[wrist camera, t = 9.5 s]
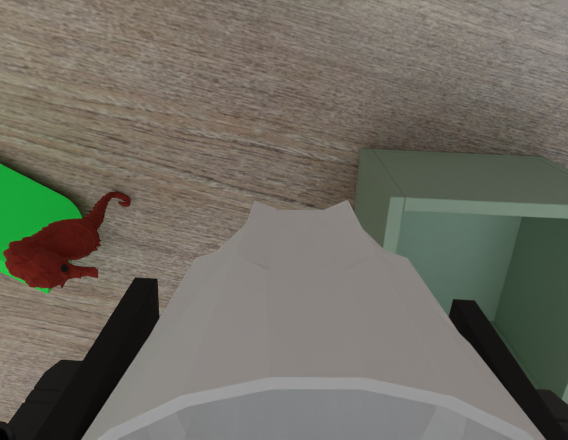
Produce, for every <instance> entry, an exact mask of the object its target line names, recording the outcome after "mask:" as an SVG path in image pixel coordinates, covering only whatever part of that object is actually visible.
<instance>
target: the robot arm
mask: <svg viewBox="0 0 568 440" xmlns="http://www.w3.org/2000/svg"><path fill="white" fill-rule="evenodd" d="M449 319H450V320H451V321H452V323H453V324H454V326H455V328H456V329H457V331H458V332H459V333H460V334H461V335H462V336H463V337H464V338H465V339H466V340H467V341H468V342H469V343H470V344H471V346H472V347H473V348H474V349H475V351H476V352H477V353H478V354H479V356H480V357H481V358H482V359H483V361H484V362H485V363H486V365H487V366H488V367H489V368H490V370H491V371H492V372H493V373H494V375H495V376H496V377H497V378H498V380H499V381H500V382H501V384H502V385H503V386H504V387H505V389H506V390H507V391H508V392H509V394H510V395H511V396H512V397H513V399H514V400H515V401H516V402H517V404H518V405H519V406H520V408H521V409H522V410H523V411H524V413H525V414H526V415H527V416H528V418H529V419H530V420H531V421H532V423H533V424H534V425H535V427H536V428H537V429H538V430H539V432H540V433H541V434H542V435H543V437H544V438H545V439H546V440H568V404H567V403H565V402H564V401H563V400H562V399H561V398H559V397H558V396H557V395H556V394H555V393H553V392H552V391H551V390H544V389H535V388H534V386H533V385H532V383H531V382H530V380H529V379H528V377H527V376H526V374H525V373H524V371H523V370H522V369H521V367H520V366H519V364H518V363H517V361H516V360H515V358H514V357H513V355H512V354H511V352H510V351H509V350H508V348H507V347H506V345H505V344H504V342H503V341H502V339H501V338H500V336H499V335H498V333H497V332H496V330H495V329H494V328H493V326H492V325H491V323H490V322H489V320H488V319H487V317H486V316H485V314H484V313H483V311H482V310H481V309H480V307H479V306H478V304H477V303H476V301H475V300H462V299H453V301H452V305H451V309H450V313H449ZM158 320H159V302H158V280H157V279H150V278H134V280H133V282H132V283H131V285H130V286H129V288H128V290H127V291H126V293H125V294H124V296H123V298H122V299H121V301H120V302H119V304H118V306H117V307H116V309H115V310H114V312H113V314H112V315H111V317H110V318H109V320H108V322H107V323H106V325H105V326H104V328H103V329H102V331H101V333H100V334H99V336H98V337H97V339H96V341H95V342H94V344H93V345H92V347H91V349H90V350H89V352H88V353H87V355H86V357H85V358H84V360H83V361H74V360H61V361H59V362H58V363H57V364H55V365H54V366H53V367H51V368H50V369H49V370H47V371H46V372H45V373H44V374H43V376H42V377H41V378H40V380H39V381H38V383H37V384H36V385H35V387H34V390H32V391H31V392H30V394H29V395H28V397H27V398H26V399H25V403H23V404H22V405H21V406H20V408H19V409H18V411H17V412H16V413H15V415H14V416H13V418H12V419H11V420H10V422H9V423H8V424H7V423H5V422H1V421H0V440H81V439H82V438H83V436H84V435H85V433H86V432H87V430H88V429H89V427H90V426H91V424H92V423H93V421H94V420H95V418H96V416H97V415H98V413H99V412H100V410H101V409H102V407H103V406H104V404H105V403H106V401H107V400H108V398H109V397H110V395H111V394H112V392H113V391H114V389H115V388H116V386H117V384H118V383H119V381H120V380H121V378H122V377H123V375H124V374H125V372H126V371H127V369H128V368H129V366H130V365H131V363H132V362H133V360H134V359H135V357H136V356H137V354H138V352H139V351H140V349H141V348H142V346H143V345H144V343H145V342H146V340H147V339H148V337H149V336H150V334H151V332H152V331H153V329H154V327H155V325H156V323H157V322H158Z"/></svg>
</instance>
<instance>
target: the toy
mask: <svg viewBox="0 0 568 440" xmlns="http://www.w3.org/2000/svg"><path fill="white" fill-rule="evenodd" d="M111 198H119V199H122V200H123V201H125V202H118V203H119V204H120V205H122V206H125V207H128V206H129V205H130V203H131V201H130V199H129V197H128V196H126V195H124V194H122V193H119V192H109V193H107V194H106V195H105V196H103V197H102V198H101V199H100V200H99V201H98V202H97V203H96V204H95V206H94V207H93V210H91V211H89V212H90V214H87V217H82V219H81V218H79V219H75V218H74V219H65V220H60V221H55V222H53V223H50V224H48V226H46V227H43V228H42V230H40V231H38V232H37V233H35V234H34V235H32V236H28V237H24V238H22V240H19V241H13V242H10V243H9V245H8V246H9V248H8V249H6V250H4V252H3V255H4V256H5V258H6V260H7V261H6V262H5V265H6V268H7V269H8V270H9V273H10V274H11V275H12V276H14V277H17V278H19V279H22V280H24V281H25V282H26V284H28V285H29V287H33V288H34V287H36V288H41V289H43V288H48V289H51V288H53V287H55V286H58V285H61V288H62V287H63V286H64V284H65V282H66V281H67V280H68V279H72V278H77V277H78V278H80V279H81V277H83V276H91V277H96V278H98V270H97V269H96V268H95V267H81V266H75V265H73V264H71V263H69V261H68V260H77V259H81V258H83V257H85V256H88V255H90V253H91V252H92V251H96V250H98V249H97V248H96V247H98V246H101V245H100V244H99V242H100V241H101V240H100V239H99V234H98V232H97V229H98V228H99V227H100V225H101V224H102V222H103V219H104V216H105V215H104V213H105V209H106V207H107V205H108V202H109V201H110V199H111Z"/></svg>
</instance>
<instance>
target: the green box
mask: <svg viewBox="0 0 568 440" xmlns="http://www.w3.org/2000/svg"><path fill="white" fill-rule="evenodd" d="M354 213H355V215H356V217H357V219H358V221H359V223H360V225H361V227H362V229H363V230H364V231H365V232H366V233H367V234H368V235H370V236H371V237H372V238H373V239H374V240H375V241H376V242H377V243H378V244H379V245H380V246H381V247H382V248H383V249H384V250H385V251H388V252H391V253H394V254H397V255H400V256H403V257H406V258H408V260H409V261H410V262H411V264H412V265H413V267H414V268H415V270H416V271H417V273H418V274H419V275H420V277H421V278H422V280H423V281H424V283H425V284H426V285H427V287H428V288H429V290H430V291H431V293H432V294H433V296H434V297H435V298H436V300H437V301H438V303H439V304H440V306H441V307H442V309H443V310H444V311H445V313H446V314H447V316H448V317H449V313H450V309H451V305H452V301H453V299H462V300H475V301H476V303H477V304H478V306H479V307H480V309H481V310H482V311H483V313H484V314H485V316H486V317H487V319H488V320H489V322H490V323H491V325H492V326H493V328H494V329H495V330H496V332H497V333H498V335H499V336H500V338H501V339H502V341H503V342H504V344H505V345H506V347H507V348H508V350H509V351H510V352H511V354H512V355H513V357H514V358H515V360H516V361H517V363H518V364H519V366H520V367H521V369H522V370H523V371H524V373H525V374H526V376H527V377H528V379H529V380H530V382H531V383H532V385H533V386H534V388H535V389H544V390H551V391H552V392H553V393H555V394H556V395H557V396H558V397H559V398H561V399H562V400H563V401H564V402H565V403H567V404H568V169H567V168H565V167H563V166H561V165H559V164H557V163H555V162H553V161H551V160H548V159H547V158H545V157H538V156H517V155H496V154H475V153H454V152H432V151H411V150H390V149H369V148H361V150H360V159H359V168H358V177H357V186H356V194H355V203H354Z"/></svg>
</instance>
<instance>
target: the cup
mask: <svg viewBox="0 0 568 440" xmlns="http://www.w3.org/2000/svg"><path fill="white" fill-rule="evenodd" d="M81 440H546V439H545V438H544V437H543V435H542V434H541V433H540V432H539V430H538V429H537V428H536V427H535V425H534V424H533V423H532V421H531V420H530V419H529V418H528V416H527V415H526V414H525V413H524V411H523V410H522V409H521V408H520V406H519V405H518V404H517V402H516V401H515V400H514V399H513V397H512V396H511V395H510V394H509V392H508V391H507V390H506V389H505V387H504V386H503V385H502V384H501V382H500V381H499V380H498V378H497V377H496V376H495V375H494V373H493V372H492V371H491V370H490V368H489V367H488V366H487V365H486V363H485V362H484V361H483V359H482V358H481V357H480V356H479V354H478V353H477V352H476V351H475V349H474V348H473V347H472V346H471V344H470V343H469V342H468V341H467V340H466V339H465V338H464V337H463V336H462V335H461V334H460V333H459V332H458V331H457V329H456V328H455V326H454V324H453V323H452V321H451V320H450V319H449V317H448V316H447V314H446V313H445V311H444V310H443V309H442V307H441V306H440V304H439V303H438V301H437V300H436V298H435V297H434V296H433V294H432V293H431V291H430V290H429V288H428V287H427V285H426V284H425V283H424V281H423V280H422V278H421V277H420V275H419V274H418V273H417V271H416V270H415V268H414V267H413V265H412V264H411V262H410V261H409V260H408V258H406V257H403V256H400V255H397V254H394V253H391V252H388V251H385V250H384V249H383V248H382V247H381V246H380V245H379V244H378V243H377V242H376V241H375V240H374V239H373V238H372V237H371V236H370V235H368V234H367V233H366V232H365V231H364V230H363V229H362V227H361V225H360V223H359V221H358V219H357V217H356V215H355V213H354V211H353V209H352V207H351V205H350V203H349V201H348V200H346V201H343V202H341V203H339V204H336V205H334V206H332V207H329V208H327V209H325V210H277V209H274V208H272V207H270V206H267V205H265V204H263V203H260V202H258V201H255V200H254V203H253V206H252V209H251V211H250V214H249V217H248V220H247V222H246V223H245V224H244V225H243V226H242V227H241V228H240V229H239V230H238V231H237V232H236V233H235V234H234V235H233V236H232V237H231V238H230V239H229V240H228V241H227V242H226V243H225V244H224V245H223V246H222V247H221V248H220V249H218V250H217V251H215V252H213V253H210V254H207V255H204V256H201V257H198V258H195V259H194V261H193V263H192V264H191V266H190V268H189V269H188V271H187V273H186V274H185V276H184V278H183V279H182V281H181V283H180V285H179V286H178V288H177V290H176V291H175V293H174V295H173V296H172V298H171V300H170V301H169V303H168V305H167V306H166V308H165V310H164V311H163V313H162V315H161V317H160V318H159V320H158V322H157V323H156V325H155V327H154V329H153V331H152V332H151V334H150V336H149V337H148V339H147V340H146V342H145V343H144V345H143V346H142V348H141V349H140V351H139V352H138V354H137V356H136V357H135V359H134V360H133V362H132V363H131V365H130V366H129V368H128V369H127V371H126V372H125V374H124V375H123V377H122V378H121V380H120V381H119V383H118V384H117V386H116V388H115V389H114V391H113V392H112V394H111V395H110V397H109V398H108V400H107V401H106V403H105V404H104V406H103V407H102V409H101V410H100V412H99V413H98V415H97V416H96V418H95V420H94V421H93V423H92V424H91V426H90V427H89V429H88V430H87V432H86V433H85V435H84V436H83V438H82V439H81Z"/></svg>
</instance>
